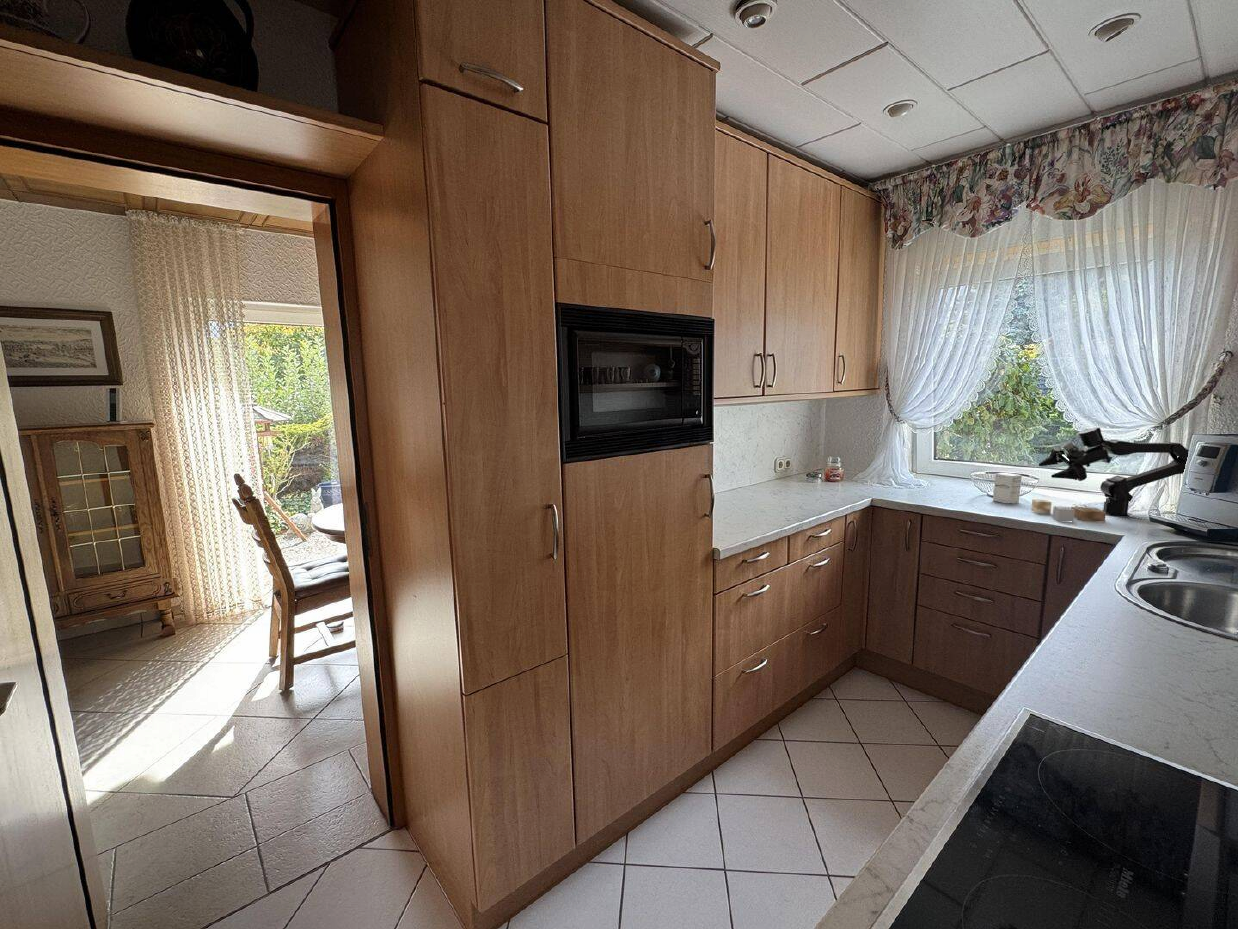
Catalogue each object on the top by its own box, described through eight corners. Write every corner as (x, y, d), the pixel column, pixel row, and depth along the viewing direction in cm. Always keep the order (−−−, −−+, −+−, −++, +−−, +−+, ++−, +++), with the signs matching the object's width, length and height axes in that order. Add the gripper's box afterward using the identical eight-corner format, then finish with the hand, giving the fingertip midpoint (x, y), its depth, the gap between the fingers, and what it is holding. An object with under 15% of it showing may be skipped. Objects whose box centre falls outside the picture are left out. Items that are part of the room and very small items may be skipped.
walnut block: (1094, 517, 221) (1095, 507, 220) (1104, 522, 213) (1105, 512, 213) (1069, 516, 223) (1071, 506, 223) (1079, 521, 216) (1080, 511, 215)
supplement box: (992, 501, 251) (994, 473, 249) (1002, 499, 254) (1004, 472, 252) (1009, 504, 244) (1012, 475, 242) (1019, 502, 247) (1022, 474, 245)
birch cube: (1045, 511, 230) (1046, 499, 230) (1050, 514, 226) (1051, 502, 225) (1031, 510, 232) (1032, 499, 231) (1035, 513, 227) (1036, 501, 227)
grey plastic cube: (1067, 519, 217) (1069, 507, 217) (1073, 522, 213) (1074, 509, 212) (1052, 518, 219) (1053, 506, 218) (1057, 521, 214) (1058, 509, 214)
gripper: (1071, 430, 229) (1029, 444, 234) (1100, 451, 213) (1055, 466, 218) (1075, 451, 234) (1034, 465, 239) (1104, 474, 218) (1059, 488, 223)
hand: (1045, 470), depth 230 cm, fingers open, 9 cm apart
